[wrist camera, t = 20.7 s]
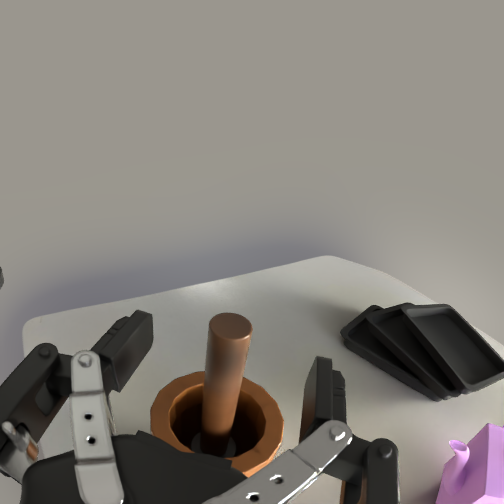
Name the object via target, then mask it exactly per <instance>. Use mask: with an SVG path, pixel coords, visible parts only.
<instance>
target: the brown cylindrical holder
mask: <svg viewBox="0 0 504 504" xmlns="http://www.w3.org/2000/svg"><path fill="white" fill-rule="evenodd" d="M204 377H205V371H202V372H195V373H191V374H188V375H185V376H182V377H179V378H177V379H174V380H173V381H172V382H171V383H169V384H168V385H167V386H165V387H164V388H163V389H162V390H160V391H159V393H158V395H157V397H156V399H155V401H154V403H153V405H152V407H151V410H150V418H151V432H152V435H153V436H155V437H158V438H160V439H162V440H163V441H165V442H167V443H168V444H170V445H171V446H173V447H175V448H176V449H178V450H180V451H182V452H189V453H194V452H193V451H191V450H190V444H191V440H192V439H193V437H194V436H195V435H196V434H197V433H199V432H201V419H202V404H203V390H204ZM283 426H284V420H283V417H282V415H281V412H280V410H279V407H278V404H277V403H276V401H275V400H274V399H273V398H272V397H271V396H270V395H269V394H268V393H267V392H266V391H265V390H264V389H263V388H262V387H261V386H259V385H257V384H255V383H253V382H252V381H250V380H248V379H246V378H244V377H243V379H242V383H241V388H240V393H239V397H238V402H237V407H236V411H235V416H234V420H233V425H232V430H231V434H230V436H231V437H232V438H233V440H234V441H235V443H236V447H237V451H236V455H235V457H231V458H224V459H228V460H232V461H233V462H232V465H231V466H232V467H234V468H236V469H237V470H239V471H241V472H242V473H243V474H244V475H246V476H247V477H248V478H249V477H250V476H252V475H253V474H255V473H256V472H257V471H259V470H260V469H262V468H263V467H265V466H266V465H267V464H269V463H270V462H272V460H273V458H274V456H275V454H276V452H277V450H278V448H279V446H280V444H281V442H282V435H283Z"/></svg>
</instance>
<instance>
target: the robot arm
mask: <svg viewBox="0 0 504 504" xmlns="http://www.w3.org/2000/svg"><path fill="white" fill-rule="evenodd" d="M152 343H153V318H152V314H150V313H147V312H143V311H140V310H136V311H135V312H134V313H133V314H132V315H131V316H130V317H127V316H125V317H123V318H121V319H119V320H117V321H116V322H115V323H114V324H113V326H112V327H111V328H110V329H109V330H108V331H107V333H105V334H104V335H103V336H102V337H101V339H100V340H99V341H98V342H97V343H96V344H95V345H94V346H93V347H92V348H91V350H83V351H79V352H77V353H76V354H74V356H71V355H65V354H60V353H58V350H57V348H56V346H54V345H53V344H51V343H42V344H39V345H37V346H36V347H35V348H34V349H33V350H32V351H31V352H30V353H29V354H28V355H27V357H26V358H25V359H24V360H23V361H22V362H21V363H20V364H19V365H18V366H17V368H16V369H15V370H14V371H13V372H12V373H11V374H10V375H9V377H8V378H7V379H6V380H5V381H4V382H3V384H2V385H1V386H0V472H1V473H2V474H3V475H4V476H7V477H12V478H13V479H14V480H16V481H17V482H18V483H20V484H21V485H22V494H21V500H20V504H289V503H291V502H292V501H293V500H294V499H295V498H296V497H297V496H298V495H300V494H301V493H302V492H303V491H304V490H305V489H307V488H308V487H309V486H310V485H311V484H312V483H313V482H314V481H316V480H317V479H318V478H319V477H320V476H321V475H322V474H323V473H325V474H328V475H330V476H333V477H335V478H338V479H341V480H342V486H341V495H340V503H339V504H400V475H399V454H398V448H397V446H396V445H395V444H394V443H393V442H392V441H390V440H388V439H385V438H379V439H376V440H374V441H372V442H369V441H366V440H363V439H361V438H359V437H357V436H355V435H354V434H352V431H351V429H350V428H349V426H348V425H347V419H346V397H345V396H346V394H345V380H344V378H343V376H342V374H341V372H340V371H335V370H332V359H329V358H324V357H318V356H316V357H315V360H314V362H313V365H312V367H311V370H310V372H309V374H308V377H307V380H306V383H305V388H304V398H303V409H302V419H301V428H300V437H299V445H298V446H296V447H295V448H294V449H292V450H291V449H289V450H287V451H285V452H284V453H282V454H281V455H280V456H278V457H277V458H276V459H274V460H273V461H272V462H270V463H269V464H267V465H266V466H265V467H263V468H262V469H260V470H259V471H257V472H256V473H255V474H253V475H252V476H250V477H249V478H248V477H247V476H246V475H244V474H243V473H242V472H241V471H239V470H237V469H236V468H234V467H232V466H231V465H232V462H233V461H232V460H228V459H224V458H220V457H217V456H213V455H209V454H199V453H189V452H182V451H180V450H178V449H176V448H175V447H173V446H171V445H170V444H168V443H167V442H165V441H163V440H162V439H160V438H158V437H155V436H153V435H150V434H148V433H145V432H143V431H140V430H138V431H137V433H136V435H128V434H125V435H118V434H117V431H116V427H115V422H114V418H113V413H112V407H111V402H110V396H109V393H110V392H111V390H115V391H117V392H119V393H120V392H121V390H122V389H123V387H124V386H125V384H126V383H127V381H128V380H129V379H130V377H131V376H132V374H133V373H134V371H135V370H136V368H137V367H138V366H139V364H140V363H141V361H142V360H143V358H144V357H145V356H146V354H147V353H148V351H149V350H150V348H151V346H152ZM68 397H69V405H70V418H71V429H72V438H73V446H74V450H72V451H69V452H66V453H63V454H60V455H56V456H53V457H50V458H46V459H43V460H39V461H37V458H38V457H37V456H38V452H39V451H38V446H37V443H38V441H39V440H40V438H41V437H42V435H43V434H44V432H45V431H46V429H47V428H48V426H49V425H50V423H51V422H52V420H53V419H54V417H55V416H56V414H57V413H58V411H59V410H60V408H61V407H62V406H63V404H64V403H65V401H66V400H67V398H68ZM36 461H37V462H36Z"/></svg>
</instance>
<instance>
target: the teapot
mask: <svg viewBox="0 0 504 504" xmlns="http://www.w3.org/2000/svg"><path fill="white" fill-rule="evenodd" d="M449 444H450V446H451V448H452V449H453V450H454V452H455V454H456V455H455V456H454V457H453V458H452V459H450V460H449V461H448V462H447V463H446V464H445V465H444V470H443V475H442V480H441V484H440V488H439V493H438V496H437V500H436V504H504V426H503V427H500V426H497V425H494V424H490V423H487V424H486V425H485V426H484V427H483V429H482V430H481V431H480V432H479V433H478V434H477V435H476V436H475V437H474V438H473V439H472V440H471V441H470V442H469V443H468V444H467V445H465V444H464V443H462V442H460V441H457V440H451V441H450V442H449Z"/></svg>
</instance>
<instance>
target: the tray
mask: <svg viewBox="0 0 504 504" xmlns="http://www.w3.org/2000/svg"><path fill="white" fill-rule="evenodd" d="M340 333H341V335H342V336H343V337H344V338H345V341H344V345H345V346H346V347H347V348H348V349H349V350H351V351H353V352H354V353H356V354H357V355H359V356H361V357H362V358H364V359H366V360H367V361H369V362H370V363H372V364H374V365H375V366H377V367H379V368H380V369H382V370H383V371H385V372H387V373H388V374H390V375H392V376H393V377H395V378H397V379H398V380H400V381H402V382H403V383H405V384H407V385H408V386H410V387H412V388H413V389H415V390H417V391H418V392H420V393H422V394H423V395H425V396H427V397H428V398H430V399H432V400H434V401H441V400H442V399H443V400H447V399H450V398H452V397H458V396H459V395H460V394H461V393H462V394H469V393H471V392H475V391H478V390H480V389H482V388H484V387H487V386H489V385H491V384H493V383H495V382H497V381H499V380H501V379H503V378H504V360H503V359H502V358H501V357H500V355H499V354H498V353H497V352H496V351H495V350H494V349H493V348H492V347H491V346H490V345H489V344H488V343H487V342H486V340H485V339H484V338H483V337H482V336H481V335H480V334H479V333H478V332H477V331H476V330H475V329H474V328H473V327H472V326H471V325H470V324H469V323H468V322H467V321H466V320H465V319H464V318H463V317H462V316H461V315H460V314H459V313H458V312H457V311H455V309H453V308H452V307H451V306H450V305H447V304H432V305H414V304H412V303H403V304H400V305H396V306H392V307H389V308H385V309H383V308H382V307H380V306H377V305H372V306H370V307H369V308H367V309H366V310H365V311H364V312H363V313H361V314H360V315H359V316H358V317H356V318H355V319H354V320H353V321H352V322H350V323H349V324H348V325H346V326H345V327H344V328H343V329H342V330H341V331H340Z"/></svg>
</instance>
